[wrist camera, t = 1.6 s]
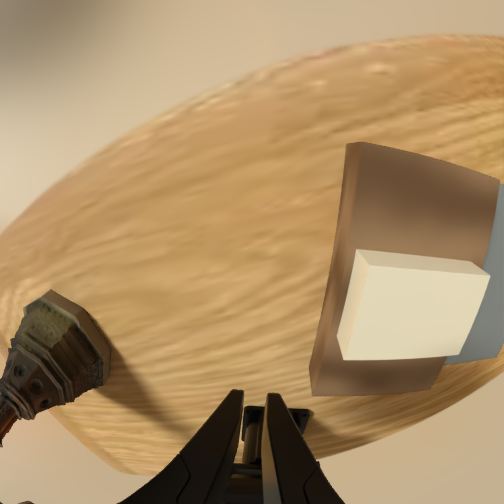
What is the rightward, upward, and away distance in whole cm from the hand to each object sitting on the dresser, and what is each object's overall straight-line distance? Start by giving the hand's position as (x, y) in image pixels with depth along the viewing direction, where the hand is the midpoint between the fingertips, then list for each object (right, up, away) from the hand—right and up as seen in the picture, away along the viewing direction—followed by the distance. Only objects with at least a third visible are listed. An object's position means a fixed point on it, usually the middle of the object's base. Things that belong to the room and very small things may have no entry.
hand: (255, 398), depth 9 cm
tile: (+10, +2, +8) cm, 13 cm away
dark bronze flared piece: (-18, -3, +15) cm, 24 cm away
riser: (+11, +3, +11) cm, 16 cm away
